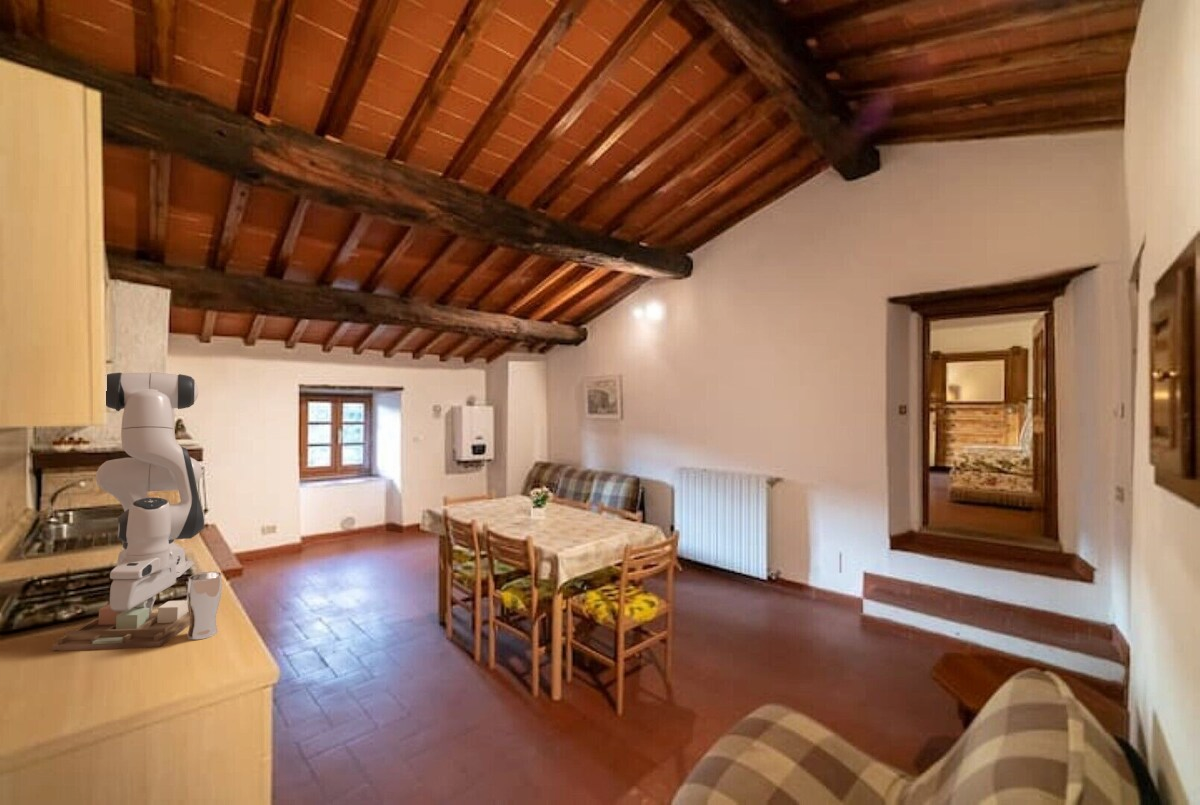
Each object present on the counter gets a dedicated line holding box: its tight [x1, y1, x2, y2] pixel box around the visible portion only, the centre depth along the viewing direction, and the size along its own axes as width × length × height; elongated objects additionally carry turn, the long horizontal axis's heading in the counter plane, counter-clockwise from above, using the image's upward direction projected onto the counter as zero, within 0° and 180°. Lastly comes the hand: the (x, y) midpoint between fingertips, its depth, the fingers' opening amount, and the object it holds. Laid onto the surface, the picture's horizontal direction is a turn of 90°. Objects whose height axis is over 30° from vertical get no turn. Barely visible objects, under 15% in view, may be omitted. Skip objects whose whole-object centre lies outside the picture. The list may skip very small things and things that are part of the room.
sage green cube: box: [116, 607, 149, 629], centre depth 130 cm, size 4×4×4 cm
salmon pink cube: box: [98, 603, 123, 625], centre depth 133 cm, size 4×4×4 cm
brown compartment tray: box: [50, 611, 190, 652], centre depth 130 cm, size 18×22×3 cm
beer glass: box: [186, 571, 223, 641], centre depth 131 cm, size 7×7×15 cm
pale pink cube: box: [157, 600, 188, 623], centre depth 136 cm, size 4×4×4 cm
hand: (144, 614), depth 134 cm, fingers closed
